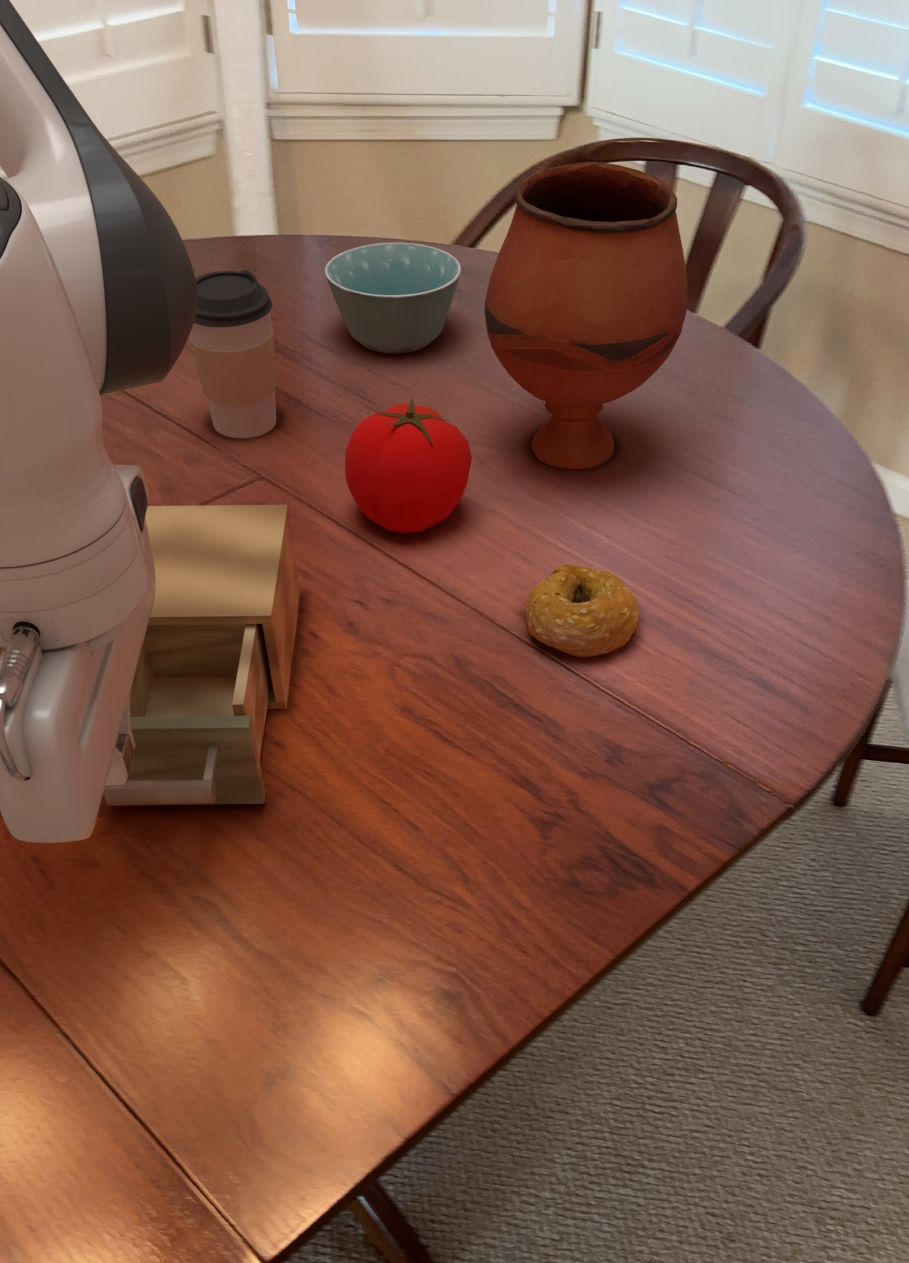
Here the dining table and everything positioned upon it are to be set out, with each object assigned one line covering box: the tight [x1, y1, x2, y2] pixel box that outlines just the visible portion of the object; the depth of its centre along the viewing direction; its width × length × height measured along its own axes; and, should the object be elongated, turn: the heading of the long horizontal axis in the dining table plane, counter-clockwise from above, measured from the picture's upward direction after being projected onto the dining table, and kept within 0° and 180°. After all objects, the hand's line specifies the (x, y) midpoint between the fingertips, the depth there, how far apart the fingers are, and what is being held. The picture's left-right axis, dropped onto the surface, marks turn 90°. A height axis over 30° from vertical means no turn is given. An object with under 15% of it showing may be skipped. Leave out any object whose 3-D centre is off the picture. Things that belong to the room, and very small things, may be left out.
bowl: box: [324, 242, 462, 355], centre depth 126 cm, size 16×16×8 cm
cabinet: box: [145, 504, 301, 710], centre depth 87 cm, size 15×13×10 cm
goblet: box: [484, 161, 688, 470], centre depth 103 cm, size 19×19×25 cm
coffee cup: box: [187, 269, 277, 439], centre depth 110 cm, size 9×9×15 cm
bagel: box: [525, 564, 640, 658], centre depth 91 cm, size 10×11×5 cm
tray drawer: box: [103, 624, 271, 807], centre depth 78 cm, size 18×11×8 cm, turn 1°
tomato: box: [344, 398, 473, 534], centre depth 100 cm, size 12×12×11 cm
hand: (117, 767), depth 61 cm, fingers closed
